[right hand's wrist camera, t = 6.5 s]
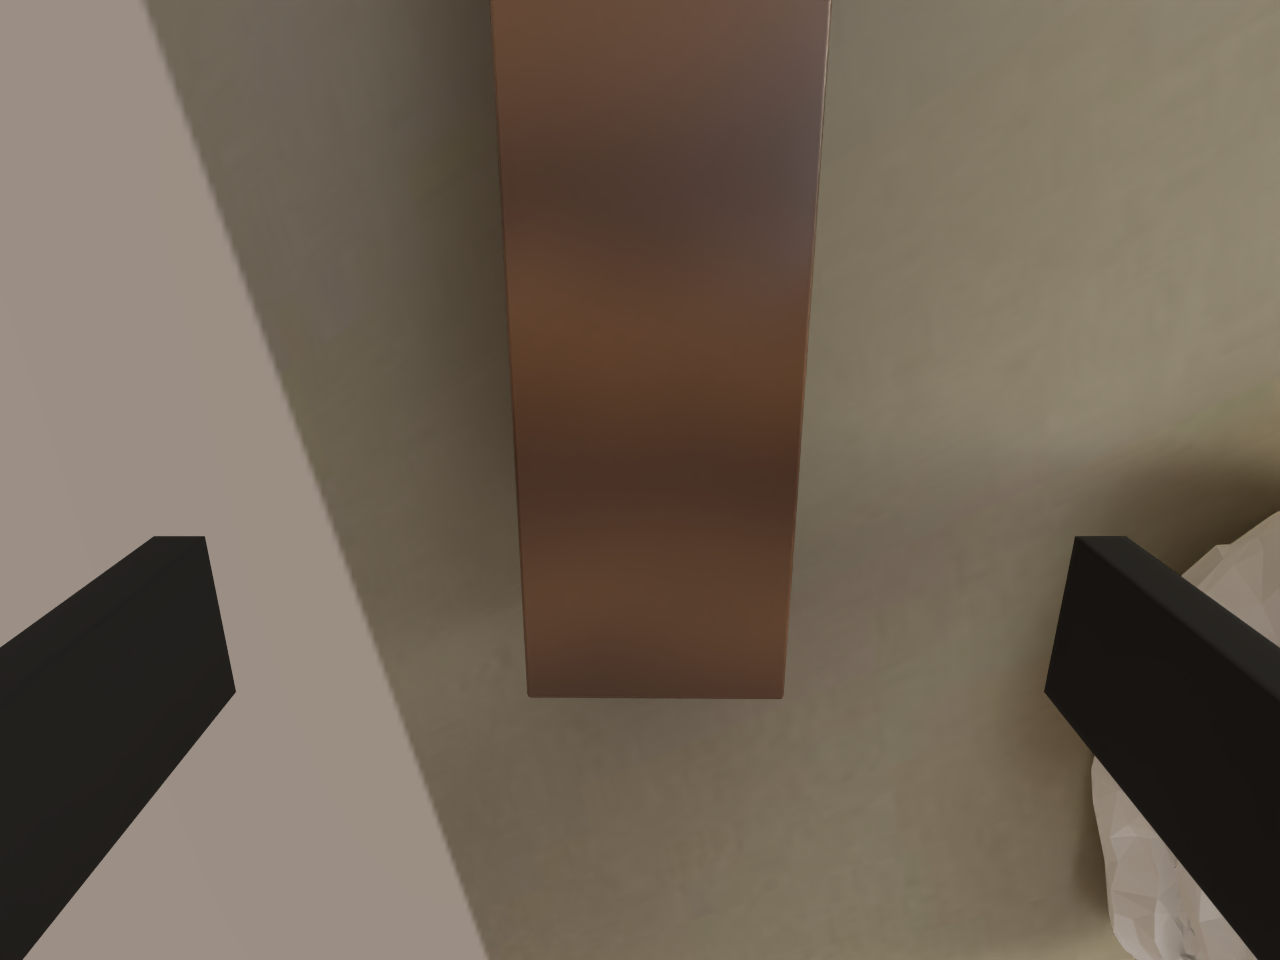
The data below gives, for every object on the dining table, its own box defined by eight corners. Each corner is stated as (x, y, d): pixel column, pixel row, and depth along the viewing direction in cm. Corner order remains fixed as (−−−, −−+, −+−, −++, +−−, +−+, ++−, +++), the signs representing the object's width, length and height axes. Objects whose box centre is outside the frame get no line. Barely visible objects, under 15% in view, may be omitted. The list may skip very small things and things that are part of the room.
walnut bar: (539, -454, 17) (428, -1103, 8) (779, -457, 17) (910, -1111, 8) (569, 521, 24) (527, 699, 16) (737, 522, 24) (783, 700, 16)
